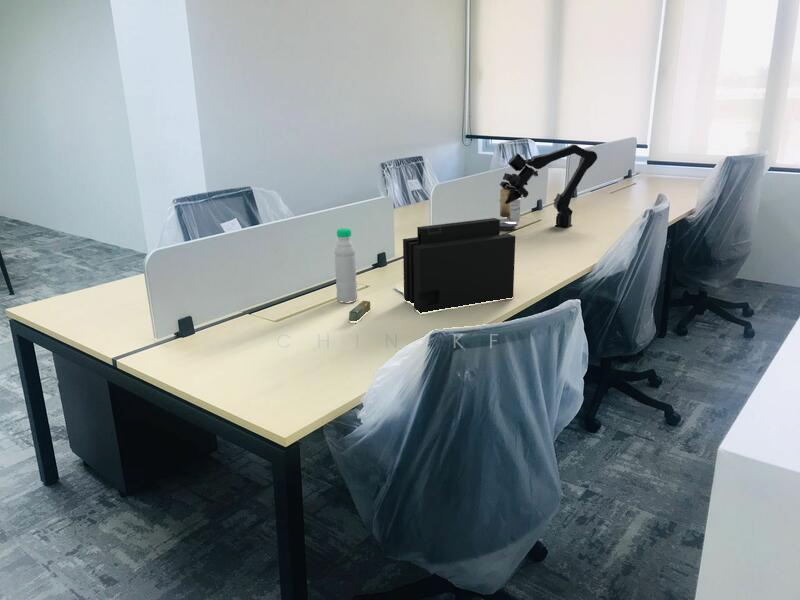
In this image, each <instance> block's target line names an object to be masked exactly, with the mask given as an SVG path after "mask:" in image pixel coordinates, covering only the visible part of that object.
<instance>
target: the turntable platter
mask: <svg viewBox="0 0 800 600" xmlns="http://www.w3.org/2000/svg"><path fill="white" fill-rule="evenodd" d="M498 219H499V220H500V227H515V228H516V227H518V225H519V221H516V220H512V219H503V218H498Z"/></svg>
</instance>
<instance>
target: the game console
mask: <svg viewBox="0 0 800 600" xmlns="http://www.w3.org/2000/svg"><path fill="white" fill-rule="evenodd" d="M499 219H500V218H497V217H496V218H495V217H491V218H481V219H474V220H466V221H465V220H464V221H457V222H450V223H440V224H433V225H432V224H431V225H423V226H417V234H416V235H417V236H416V237H409V238H403V239H402V252H403V253H402V257H403V258H402V260H403V262H402V263H403V264H402V265H403V286H404V295H403V300H404V299H405V300H406V301H410V302H411V303H414V307H413V309H414V308H415V309H416V310H418V311H419V312H420V313H422V312H428V311H433V310H439V309H445V308H451V307H458V306H463V305H469V304H475V303H481V302H486V301H493V300H500V299H506V298H512V297H513V298H514V291H515V290H514V286H515V285H514V284H515V283H514V281H515V262H516V261H515V260H516V259H515V257H516V236H515V235H513V234H511V233H505V234H500V231H501V230H500V220H499Z"/></svg>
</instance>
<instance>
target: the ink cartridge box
mask: <svg viewBox="0 0 800 600" xmlns="http://www.w3.org/2000/svg"><path fill="white" fill-rule="evenodd" d="M521 199H522V198H519V199H517V200H514V201H512V202H511V209H510V216H509V217H507V219H512V220H516V221H518V222H520V219H521Z"/></svg>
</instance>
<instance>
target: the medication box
mask: <svg viewBox="0 0 800 600" xmlns="http://www.w3.org/2000/svg"><path fill="white" fill-rule="evenodd" d="M369 310H370V311H371V301H368V300H362V301H361V302H360V303H358V304H357V305H356V306H354V308H352V309H351V310H350V311H349V312H348V313H349V315H348V316H349V317H348V318H349V319H348V321H349V320H350V321H357V320H359V319H360V318H361V317H362V316H363V315H364V314H365V313H366V312H368V311H369Z"/></svg>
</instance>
